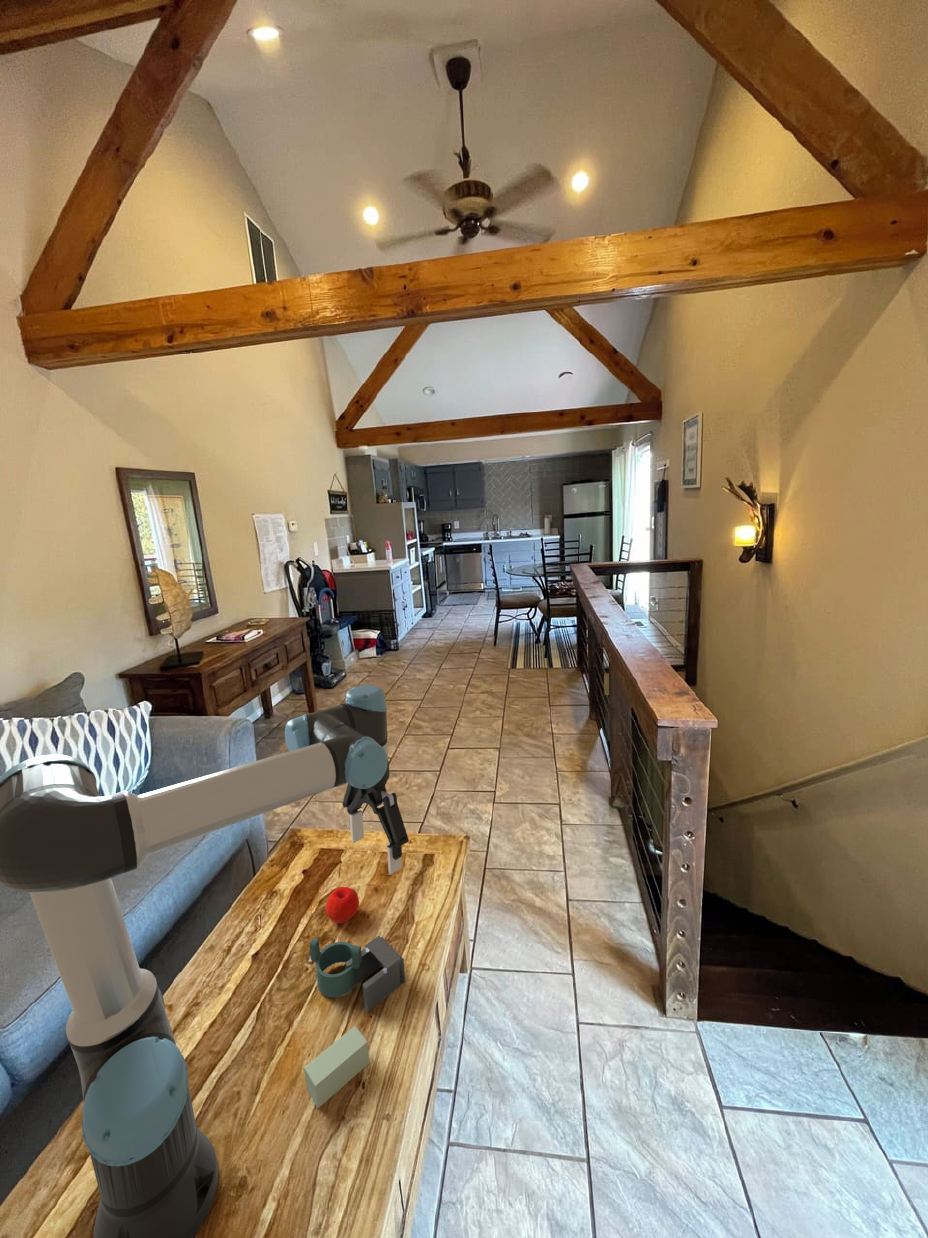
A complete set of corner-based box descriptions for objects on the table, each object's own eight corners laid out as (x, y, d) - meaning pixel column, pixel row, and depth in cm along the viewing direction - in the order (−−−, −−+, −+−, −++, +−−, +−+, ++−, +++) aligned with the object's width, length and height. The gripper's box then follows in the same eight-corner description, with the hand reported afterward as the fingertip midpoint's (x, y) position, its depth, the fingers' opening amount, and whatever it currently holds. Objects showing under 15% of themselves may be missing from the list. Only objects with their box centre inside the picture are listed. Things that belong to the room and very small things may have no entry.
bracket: (365, 984, 105) (363, 949, 103) (320, 1006, 100) (317, 969, 98) (352, 952, 112) (349, 918, 110) (310, 970, 108) (307, 935, 106)
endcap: (367, 1012, 99) (365, 985, 98) (346, 986, 105) (344, 959, 104) (405, 982, 106) (403, 956, 104) (383, 958, 111) (381, 933, 110)
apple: (344, 937, 117) (341, 910, 115) (319, 924, 121) (316, 897, 119) (366, 913, 124) (364, 887, 122) (342, 901, 128) (340, 876, 126)
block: (317, 1109, 84) (315, 1086, 83) (306, 1090, 87) (303, 1067, 85) (369, 1064, 90) (367, 1042, 89) (357, 1047, 93) (355, 1025, 92)
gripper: (424, 777, 95) (427, 874, 100) (352, 736, 113) (358, 821, 117) (392, 793, 90) (397, 895, 95) (321, 748, 108) (329, 836, 112)
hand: (375, 854), depth 106 cm, fingers open, 13 cm apart
